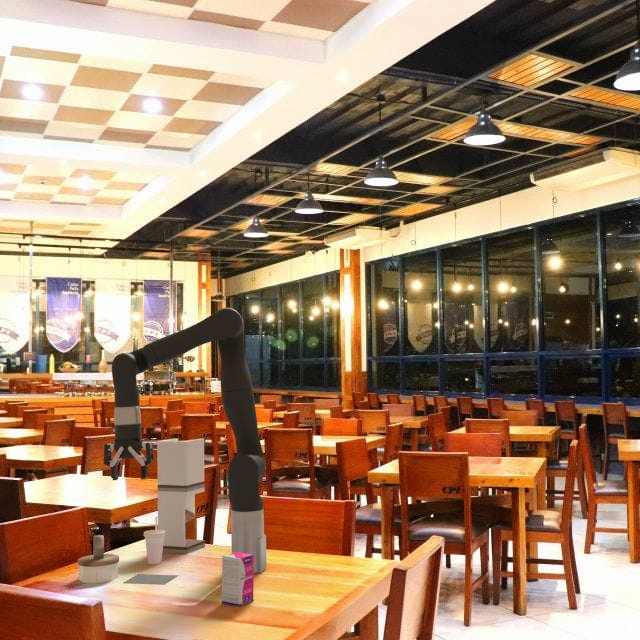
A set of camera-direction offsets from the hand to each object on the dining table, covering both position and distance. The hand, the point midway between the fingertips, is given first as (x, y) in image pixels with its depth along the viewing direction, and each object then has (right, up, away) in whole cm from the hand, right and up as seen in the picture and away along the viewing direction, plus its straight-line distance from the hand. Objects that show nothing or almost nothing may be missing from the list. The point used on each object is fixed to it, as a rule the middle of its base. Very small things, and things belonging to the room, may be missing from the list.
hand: (129, 479), depth 237 cm
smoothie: (+6, -27, +8) cm, 29 cm away
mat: (+9, -25, -12) cm, 29 cm away
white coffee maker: (+10, -28, +30) cm, 42 cm away
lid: (-6, -21, -9) cm, 24 cm away
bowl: (-6, -26, -10) cm, 28 cm away
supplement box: (+35, -24, -34) cm, 54 cm away
